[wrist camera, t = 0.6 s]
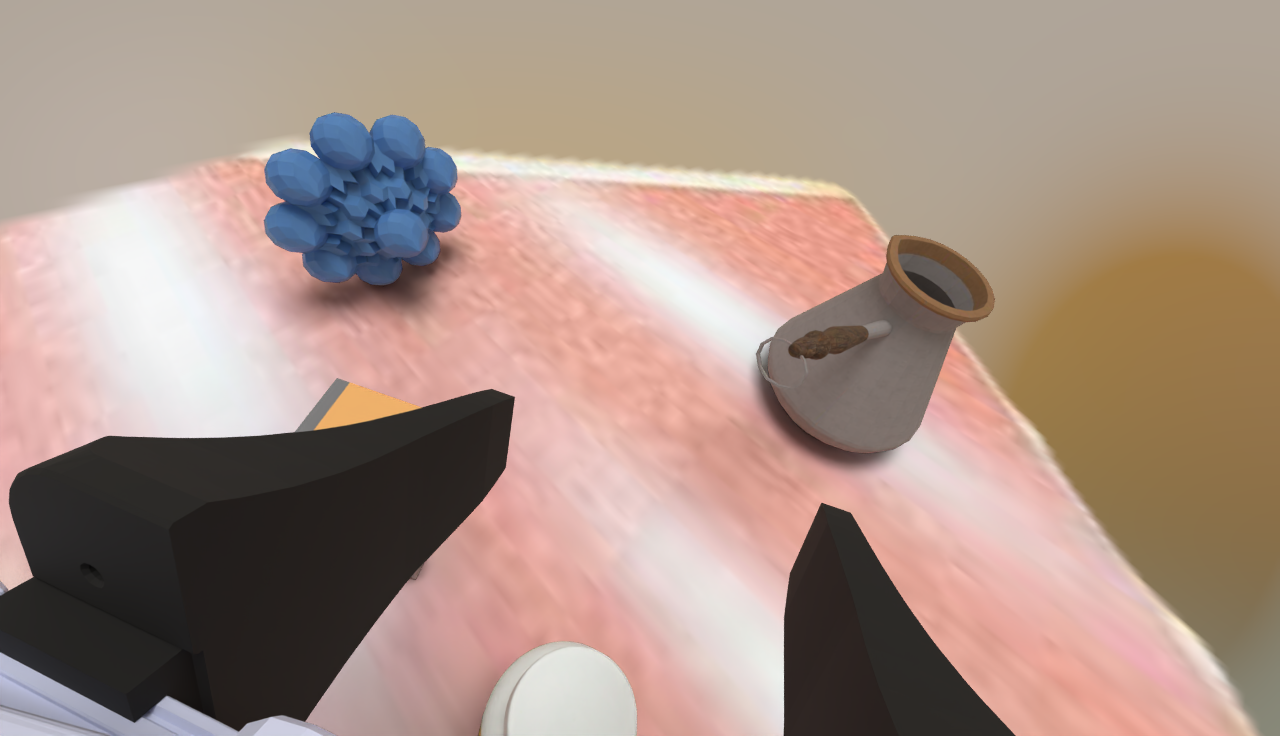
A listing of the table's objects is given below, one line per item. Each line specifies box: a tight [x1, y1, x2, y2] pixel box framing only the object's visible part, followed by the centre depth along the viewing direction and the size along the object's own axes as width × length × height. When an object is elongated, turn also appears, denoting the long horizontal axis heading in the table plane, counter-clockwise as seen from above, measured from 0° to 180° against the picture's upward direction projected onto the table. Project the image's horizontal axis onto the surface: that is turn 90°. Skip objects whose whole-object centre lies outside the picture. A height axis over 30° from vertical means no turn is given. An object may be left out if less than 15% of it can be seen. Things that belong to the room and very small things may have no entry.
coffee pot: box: [756, 235, 995, 453], centre depth 32 cm, size 21×12×15 cm, turn 128°
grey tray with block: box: [295, 378, 424, 580], centre depth 22 cm, size 20×8×5 cm, turn 166°
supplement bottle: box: [478, 641, 637, 736], centre depth 20 cm, size 5×5×10 cm
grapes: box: [264, 112, 461, 285], centre depth 32 cm, size 12×7×12 cm, turn 137°
